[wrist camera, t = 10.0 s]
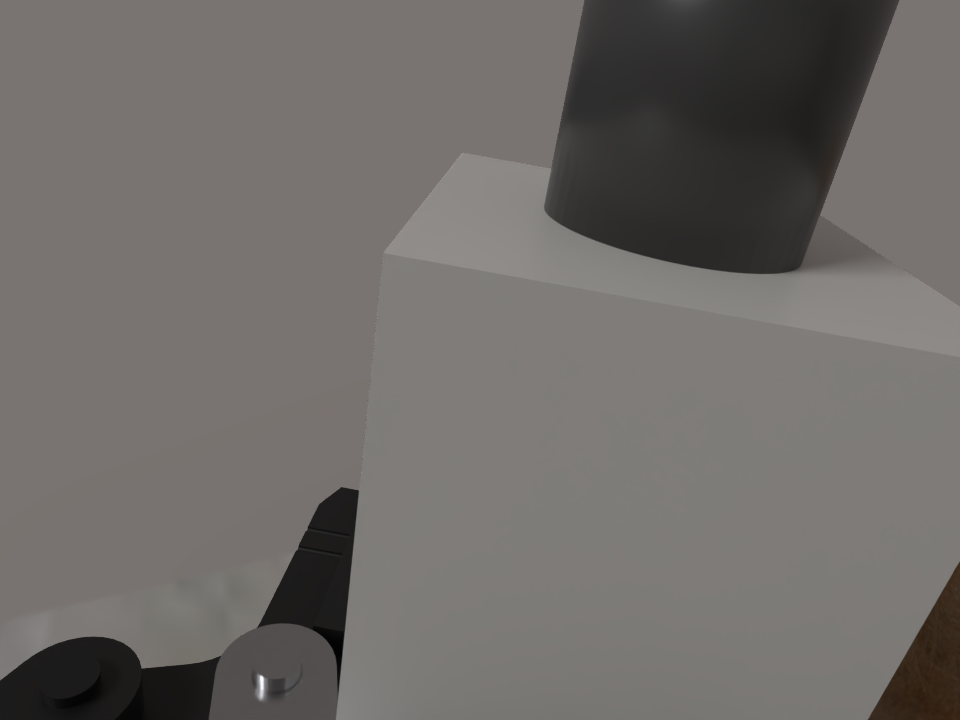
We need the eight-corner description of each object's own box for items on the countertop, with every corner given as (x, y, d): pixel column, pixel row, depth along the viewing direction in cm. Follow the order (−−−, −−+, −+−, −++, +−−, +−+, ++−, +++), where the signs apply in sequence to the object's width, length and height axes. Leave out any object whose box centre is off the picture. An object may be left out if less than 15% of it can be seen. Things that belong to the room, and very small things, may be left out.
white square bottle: (577, 876, 15) (926, -65, 7) (587, 1202, 10) (1397, -195, 3) (365, 835, 15) (503, -137, 7) (292, 1141, 11) (444, -351, 3)
